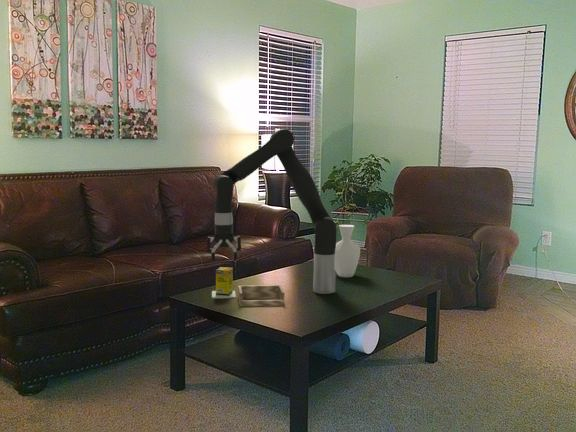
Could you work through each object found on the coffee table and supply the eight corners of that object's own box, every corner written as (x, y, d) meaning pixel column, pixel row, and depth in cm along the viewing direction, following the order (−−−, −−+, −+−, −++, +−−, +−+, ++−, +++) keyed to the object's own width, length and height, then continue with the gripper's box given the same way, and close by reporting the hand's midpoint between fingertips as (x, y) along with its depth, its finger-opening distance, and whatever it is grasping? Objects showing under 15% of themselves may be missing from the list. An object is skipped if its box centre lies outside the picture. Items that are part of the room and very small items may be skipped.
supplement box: (229, 296, 239) (229, 270, 238) (215, 295, 240) (215, 269, 239) (232, 292, 245) (233, 267, 244) (219, 291, 246) (219, 266, 245)
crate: (280, 296, 242) (280, 285, 242) (284, 305, 229) (284, 293, 229) (238, 297, 240) (238, 285, 239) (239, 306, 227) (240, 293, 226)
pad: (234, 291, 248) (234, 290, 248) (236, 298, 239) (236, 296, 239) (211, 292, 247) (211, 290, 247) (211, 298, 237) (211, 297, 237)
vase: (361, 279, 276) (362, 228, 273) (331, 278, 277) (333, 227, 273) (357, 272, 291) (359, 224, 287) (329, 271, 291) (331, 223, 288)
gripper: (240, 221, 243) (240, 258, 245) (206, 222, 241) (207, 259, 243) (241, 224, 236) (241, 262, 238) (206, 224, 234) (207, 263, 236)
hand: (224, 260), depth 241 cm, fingers open, 8 cm apart
